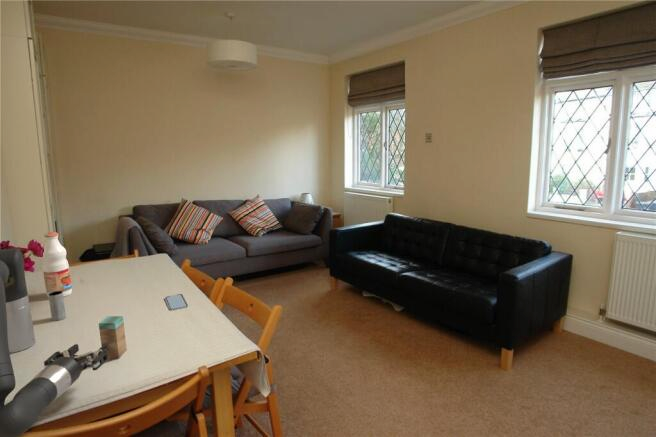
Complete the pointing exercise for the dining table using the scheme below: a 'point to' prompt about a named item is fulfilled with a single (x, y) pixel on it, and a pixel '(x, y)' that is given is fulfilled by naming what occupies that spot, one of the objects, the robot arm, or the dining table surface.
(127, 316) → the dining table surface
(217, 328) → the dining table surface
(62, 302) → the planter
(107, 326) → the brown tall block
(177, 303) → the smartphone
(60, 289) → the white strawberry milk bottle
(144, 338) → the dining table surface
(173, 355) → the dining table surface
